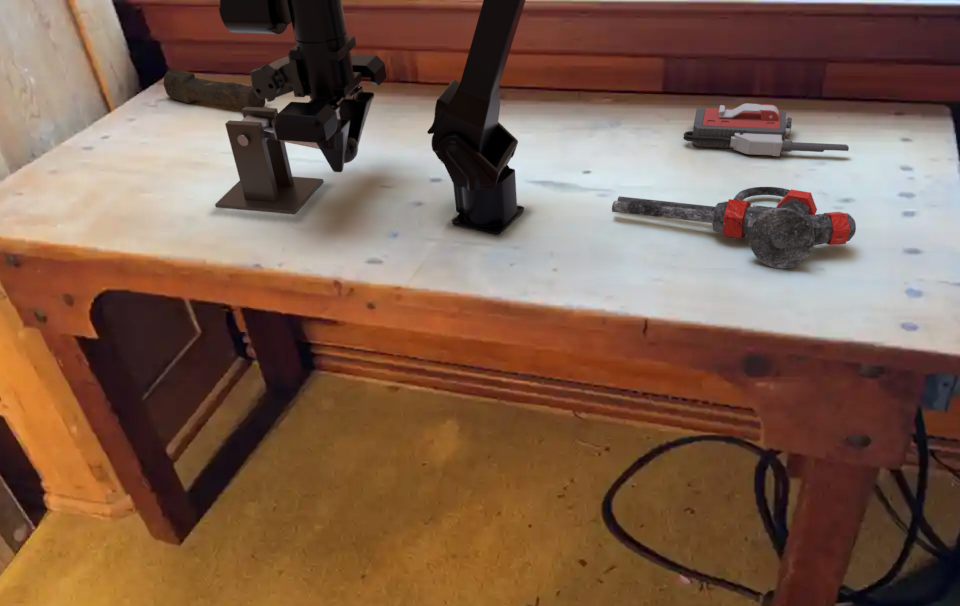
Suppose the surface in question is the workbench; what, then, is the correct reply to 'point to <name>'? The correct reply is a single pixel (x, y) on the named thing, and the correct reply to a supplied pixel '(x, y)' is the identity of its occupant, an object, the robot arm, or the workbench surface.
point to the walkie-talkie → (749, 131)
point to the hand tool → (209, 91)
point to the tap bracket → (263, 169)
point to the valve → (759, 222)
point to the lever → (269, 134)
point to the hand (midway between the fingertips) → (344, 164)
